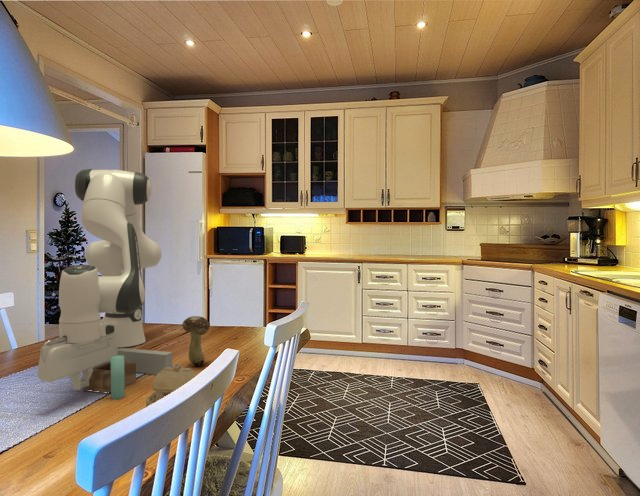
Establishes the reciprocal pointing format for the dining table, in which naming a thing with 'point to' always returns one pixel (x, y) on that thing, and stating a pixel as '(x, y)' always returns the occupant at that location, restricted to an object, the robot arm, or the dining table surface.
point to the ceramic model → (169, 381)
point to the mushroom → (196, 337)
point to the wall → (147, 359)
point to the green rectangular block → (117, 377)
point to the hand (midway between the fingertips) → (81, 388)
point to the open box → (109, 376)
